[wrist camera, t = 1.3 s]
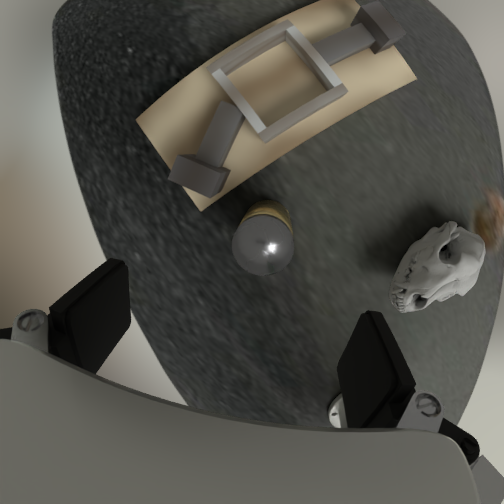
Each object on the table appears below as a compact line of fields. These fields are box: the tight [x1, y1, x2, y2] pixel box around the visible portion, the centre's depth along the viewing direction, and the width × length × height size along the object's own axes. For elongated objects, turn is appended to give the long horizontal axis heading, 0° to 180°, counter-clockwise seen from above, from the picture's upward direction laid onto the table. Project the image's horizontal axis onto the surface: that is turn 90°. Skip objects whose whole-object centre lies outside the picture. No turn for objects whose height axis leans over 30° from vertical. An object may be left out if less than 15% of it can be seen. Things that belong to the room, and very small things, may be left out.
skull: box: [389, 221, 486, 313], centre depth 22 cm, size 8×9×12 cm
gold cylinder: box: [232, 200, 294, 276], centre depth 23 cm, size 4×4×7 cm
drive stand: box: [136, 0, 417, 211], centre depth 18 cm, size 11×24×6 cm, turn 125°
